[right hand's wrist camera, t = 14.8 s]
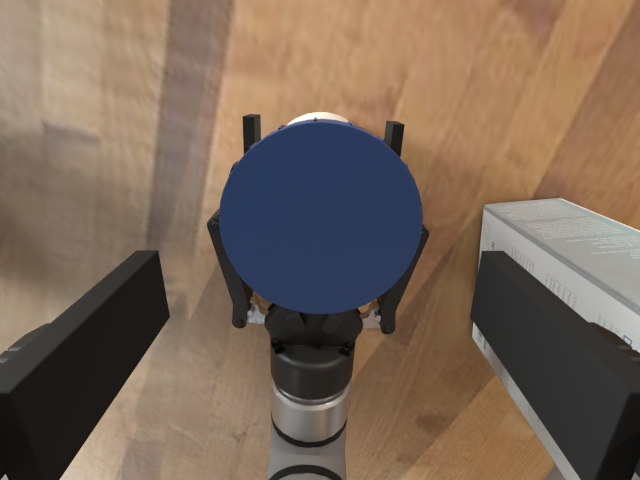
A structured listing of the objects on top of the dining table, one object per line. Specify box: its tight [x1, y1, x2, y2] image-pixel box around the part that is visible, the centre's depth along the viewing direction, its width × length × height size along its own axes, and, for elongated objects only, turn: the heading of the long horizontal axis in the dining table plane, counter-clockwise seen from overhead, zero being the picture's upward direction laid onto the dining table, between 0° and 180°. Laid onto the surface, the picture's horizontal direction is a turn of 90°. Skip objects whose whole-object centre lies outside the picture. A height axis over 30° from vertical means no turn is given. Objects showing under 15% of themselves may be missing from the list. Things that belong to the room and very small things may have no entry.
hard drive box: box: [472, 198, 640, 480], centre depth 28 cm, size 16×8×20 cm, turn 5°
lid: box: [219, 117, 423, 314], centre depth 19 cm, size 10×10×2 cm
